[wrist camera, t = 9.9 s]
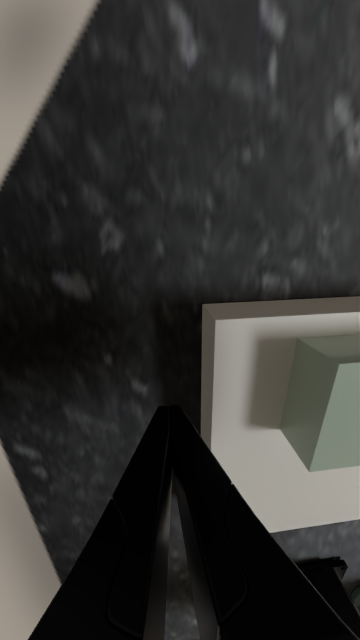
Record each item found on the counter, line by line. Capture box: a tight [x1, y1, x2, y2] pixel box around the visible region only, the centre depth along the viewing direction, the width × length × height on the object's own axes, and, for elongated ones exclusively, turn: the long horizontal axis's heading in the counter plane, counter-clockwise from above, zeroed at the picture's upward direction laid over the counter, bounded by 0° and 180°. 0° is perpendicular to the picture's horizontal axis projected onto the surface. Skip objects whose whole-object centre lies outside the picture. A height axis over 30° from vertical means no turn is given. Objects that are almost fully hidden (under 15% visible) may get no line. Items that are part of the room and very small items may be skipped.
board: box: [201, 296, 360, 533], centre depth 12 cm, size 15×12×2 cm
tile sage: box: [280, 334, 360, 472], centre depth 8 cm, size 5×5×2 cm
